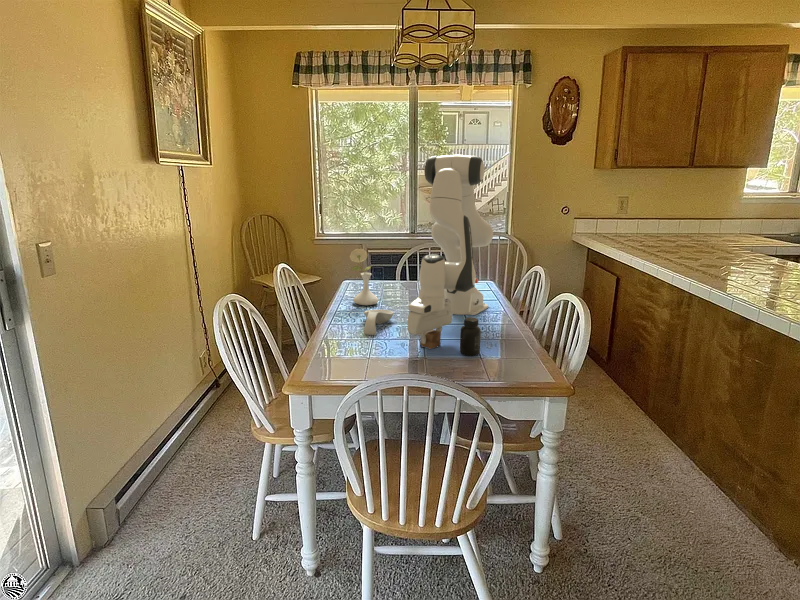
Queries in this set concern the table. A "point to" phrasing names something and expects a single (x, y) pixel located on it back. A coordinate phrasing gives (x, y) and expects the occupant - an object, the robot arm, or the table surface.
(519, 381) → the table surface
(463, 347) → the supplement bottle
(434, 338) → the walnut cube
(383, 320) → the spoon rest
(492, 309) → the table surface
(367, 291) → the flower in vase
